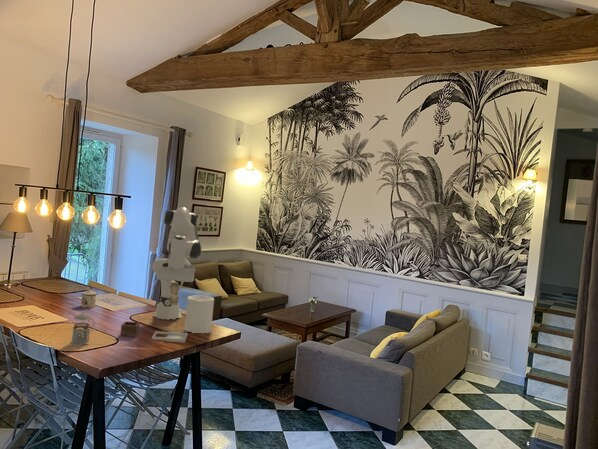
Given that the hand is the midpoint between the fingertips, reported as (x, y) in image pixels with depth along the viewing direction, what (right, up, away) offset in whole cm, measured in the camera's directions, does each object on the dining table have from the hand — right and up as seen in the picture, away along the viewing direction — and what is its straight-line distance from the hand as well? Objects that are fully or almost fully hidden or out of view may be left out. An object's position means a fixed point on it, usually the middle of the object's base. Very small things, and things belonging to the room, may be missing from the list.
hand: (174, 288), depth 247 cm
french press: (-42, -25, -22) cm, 53 cm away
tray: (-3, -28, +1) cm, 28 cm away
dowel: (-1, -9, 0) cm, 9 cm away
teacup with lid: (-73, -20, +52) cm, 92 cm away
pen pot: (-25, -26, -3) cm, 36 cm away
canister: (+8, -29, +23) cm, 38 cm away
